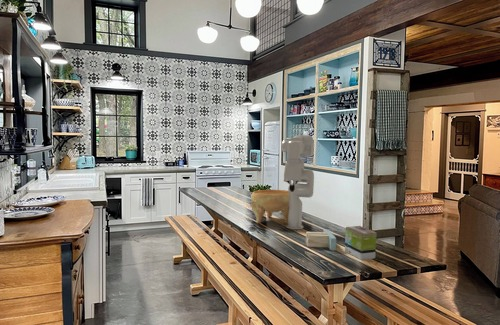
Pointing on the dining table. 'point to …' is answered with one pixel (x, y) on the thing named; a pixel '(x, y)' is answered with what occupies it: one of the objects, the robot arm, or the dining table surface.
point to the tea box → (360, 242)
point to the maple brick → (317, 239)
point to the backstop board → (331, 240)
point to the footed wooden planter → (270, 203)
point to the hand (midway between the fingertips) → (291, 191)
